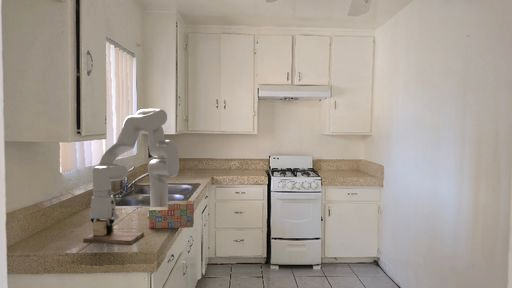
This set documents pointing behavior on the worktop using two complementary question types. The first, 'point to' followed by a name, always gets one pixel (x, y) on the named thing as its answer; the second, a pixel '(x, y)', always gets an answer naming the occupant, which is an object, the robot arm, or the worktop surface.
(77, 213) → the worktop surface
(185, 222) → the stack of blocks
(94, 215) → the robot arm
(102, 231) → the block
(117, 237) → the board
